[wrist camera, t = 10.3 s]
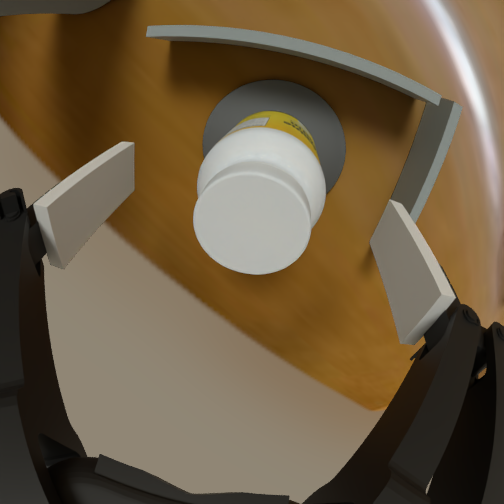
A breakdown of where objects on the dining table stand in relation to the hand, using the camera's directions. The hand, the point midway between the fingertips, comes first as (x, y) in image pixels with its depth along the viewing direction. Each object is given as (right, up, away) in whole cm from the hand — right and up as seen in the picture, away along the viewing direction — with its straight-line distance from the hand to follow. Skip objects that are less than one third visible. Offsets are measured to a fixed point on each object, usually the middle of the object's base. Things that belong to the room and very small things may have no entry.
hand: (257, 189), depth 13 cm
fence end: (+12, +4, +7) cm, 14 cm away
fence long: (+3, +11, +2) cm, 12 cm away
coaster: (+1, +5, +7) cm, 9 cm away
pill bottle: (+1, +5, +7) cm, 9 cm away
